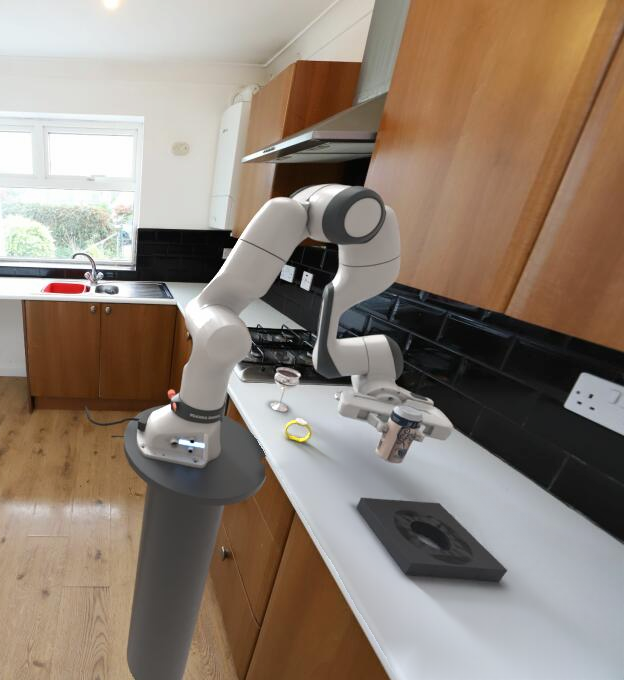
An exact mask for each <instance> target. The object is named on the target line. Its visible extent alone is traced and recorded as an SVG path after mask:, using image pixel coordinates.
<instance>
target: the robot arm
mask: <svg viewBox="0 0 624 680" xmlns="http://www.w3.org/2000/svg"><path fill="white" fill-rule="evenodd" d="M307 238H310V239H311V240H314V241H317V242H323V243H330V244H334V245H337V246H338V269H337V272H336V275H335V276H334V278H333V280H331V281H330V282H329V283H328V284H326V285H325V286H324V288H323V291H322V297H321V302H320V306H319V307H320V308H319V315H318V322H317V323H318V324H317V330H316V337H315V342H314V347H313V350H312V355H311V356H312V357H311V359H312V366H313V368H314V370H315V372H316V373H318V374H319V375H320V376H323V377H325V378H326V379H337V378H342V377H350V379H351V385H352V388H353V391H352V390H343V391H341V390H340V392H339V391H335V392H334V393H333V395H334V398H335V400H337V401H338V402H337V412H338V414H339V415H340V416H341V417H344V418H348V419H352V420H356V421H360V422H364V423H367V424H369V425H370V426H372V427H373V428H375V429H376V432H378V433H381V434H382V433H387V430H388V429H389V427H388V424H387V422H388V420H389V418H390V415H391V413H392V411H393V409H394V408H395V407H397V406H398V405H400V404H403V405H409V406H411V407H414V408H416V409H418V410H419V411H421V413H422V417H423V421H422V423H421V425H420V427H419V429H418V431H417V433H416V435H415V437H414V439H413V442H414V441H415V442H418V443H423V441H424V439H425V438H426V437H427V438H430V439H435V440H439V441H446V440H448V439H449V438H450V436H451V434H452V433H453V430H454V425H453V423H452V422H451V421H450V419H449V418H448V417H447V415H445V413H444V412H443V411H441V409H439V408H438V407H435V406H434V401H433V400H432V399H431V398H429V397H425V396H423V395H420V394H416V393H414V392H412V391H409V390H407V389H405V388H403V387H401V386H399V385H398V384H396V380H398V379H399V378H400V376H401V375H402V374H403V371H404V366H405V365H404V356H403V352H402V349H401V348H400V346H399V345H398V343H397V342H396V341H395V340H394V339H393V338H391V337H390V336H388V335H387V334H372V335H364V336H356V337H346V338H337V334H338V328H339V324H340V323H339V322H340V318H341V316H342V315H343V314H344V313H345V312H346V311H347V310H349V309H351V308H353V307H354V306H356V305H358V304H360V303H362V302H364V301H367V300H369V299H371V298H372V299H373V298H374V297H376V296H378V295H380V294H382V293H383V292H385V291H386V290H387V289H389V288H390V287H391V286H392V285H393V284H394V283H395V282H396V281H397V279H398V277H399V274H400V271H401V263H402V243H401V233H400V227H399V222H398V218H397V214H396V212H395V210H394V209H393V208H392V207H391V206H389V205H386V204H385V203H384V200H383V198H382V197H381V195H380V194H379V193H378V192H376V191H375V190H373V189H371V188H368V187H365V186H363V185H362V186H361V185H354V186H352V185H345V184H339V183H325V184H311V185H307V186H304V187H301V188H300V189H297V190H295V192H293V193H292V194H290V196H289V197H284V196H278V197H277V196H276V197H274V198H270V199H269V200H267V201H266V202H265V203H264V204H263V205H262V207H260V209H259V210H258V211H257V213H256V214H255V215H254V216H253V218H252V219H251V220H250V222H249V223H248V224H247V225H246V227H245V229H244V230H243V232H242V234H241V235H240V237H239V238H238V240H237V241H236V243H235V245H234V247H233V248H232V249H231V251H230V253H229V255H228V256H227V258H226V260H225V261H224V263H223V265H222V266H221V268H220V269H219V271H218V272H217V273H216V275H215V276H214V277H213V279H211V281H210V282H209V283H208V284H207V285H206V287H204V288H203V290H202V291H201V292H200V293H199V294H198V296H195V297H194V298H193V299H192V300H190V301H189V302H188V303H187V305H186V306H185V310H184V324H185V328H186V330H187V331H188V333H189V334H190V337H191V338H192V339H191V340H192V350H191V354H190V357H189V359H188V361H187V363H186V364H185V365H184V367H183V369H182V376H181V384H180V390H179V392H178V393H176V391H175V389H169V390H168V391H167V397H168V399H169V400H170V403H169V404H166V405H167V406H165V407H163V408H160V409H158V410H156V411H153V412H152V413H151V414H150V413H147V412H146V413H145V414H144V415H143V416H142V417H141V419H139V418H134V417H125V418H123V419H120V420H116V421H111V422H98V421H95V420H93V418H91V416H90V412H89V409H88V407H87V406H84V407H83V409H84V411H85V413H86V417H87V419H88V421H89V422H91V423H92V424H94V425H96V426H100V427H107V426H114V425H119V424H122V423H124V422H126V421H131V420H134V421H138V427H137V429H138V431H137V446H138V449H139V450H140V452H141V453H142V455H143V456H145V457H147V458H152V459H157V460H162V461H167V462H172V463H177V464H181V465H186V466H191V467H196V468H204V467H205V466H206V464H207V463H208V462H209V461H211V460H213V459H215V458H216V457H218V456H219V454H220V452H221V445H220V424H221V422H222V419H223V416H224V415H225V411H226V402H225V400H226V395H227V390H228V386H229V382H230V378H231V376H232V373H233V371H234V369H235V367H236V366H237V365H238V364H239V363H241V362H242V361H244V360H245V359H246V357H247V356H248V355H249V354H250V352H251V349H252V344H253V340H252V335H251V333H250V331H249V328H248V326H247V324H246V323H245V322H244V320H243V319H242V318H241V317H240V315H241V313H242V312H243V311H244V310H245V309H246V308H247V307H249V305H250V304H251V303H253V302H254V301H256V300H257V299H258V300H259V299H260V298H262V297H264V296H265V295H266V294H267V293H268V291H269V290H270V289H271V286H272V285H273V284H274V282H275V281H276V279H277V278H278V276H279V274H280V273H281V271H282V270H283V269H284V267H285V266H286V264H287V263H288V261H289V259H290V258H291V256H292V255H293V253H294V251H295V250H296V248H297V247H298V245H300V244H301V243H302V242H303V241H304V240H306V239H307Z"/></svg>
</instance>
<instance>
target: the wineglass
mask: <svg viewBox="0 0 624 680" xmlns="http://www.w3.org/2000/svg"><path fill="white" fill-rule="evenodd" d="M275 370H276V372H275V374H274V377H273V380H274V382H275V383H276V385H277V386H278V387H279V388H281V392H280V393H281V394H280V396H279V397H280V398H279V402H276V401H275V402H271V403H270V405H269V406H270V408H272V409H273V410H275V411H278V412H287V411H288V406H286V405H285V404H283V403H282V401H283V397H284V395H285V391H287V390H291V389H292V390H293V389H294V388H296V387H297V386H298V385H299V383H300V377H301V376H302V375H301V373H300V372H299V371H298V370H295V369H293V368H289V367H283V366H282V367H281V366H280V367H277V368H276V369H275Z"/></svg>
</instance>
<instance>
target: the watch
mask: <svg viewBox="0 0 624 680" xmlns="http://www.w3.org/2000/svg"><path fill="white" fill-rule="evenodd" d="M292 425H297V426H300V427H302V428H307V430H308V434H307V435H306V436H304V437H301V438H299V437H296V436H293V435H290V433H289V432H288V429H289V428H290V426H292ZM284 430H285V435H286V437H287V438H288V439H289V440H292V441H295V442H298V443H304V442H307V441H308V440H309V439H311V436H312V429H311V426H310V425H309V424H308V422H307V420H305V419H303V418H300V417H297V418H296V419H294V420H290V421H289V422H287V423H286V424H285V427H284Z"/></svg>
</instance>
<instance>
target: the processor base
mask: <svg viewBox="0 0 624 680" xmlns="http://www.w3.org/2000/svg"><path fill="white" fill-rule="evenodd" d="M356 505H357V506H356V510H357V511H358V513H359V514H360V515H361V517H362V518H363V519H364V522H366V524H367V525H368V526H369V528H370V529H371V530H372V532H373V533H374V535H375V536H376V537H377V538H378V540H379V541H380V543H381V544H382V546H383V547H384V548H385V550H386V551H387V552H388V553H389V555H390V556H391V558H392V559H393V560H394V562H395V563H396V564H397V566H398V567H399V568H400V570H401V571H402V573H403V574H404V575H405V576H414V577H415V576H416V577H417V576H418V577H427V578H428V577H429V578H430V577H431V578H444V579H456V580H470V581H481V582H482V581H483V582H493V583H494V582H495V583H499V582H500V581H501V580H502V579H503V578H504V576H505V575H506V573H507V572H508V569H507V568H506V567H505V566H504V565H503V563H500V561H499V560H498V559H497V558H496V557H495V556H494V555H493V554H492V553H491V552H490V551H488V549H487V548H485V546H483V545H482V543H480V541H478V539H476V538H475V536H474V535H472V533H470V531H468V530H467V529H466V528H465V527H464V526H463V525H462V524H461V523H460V522H459V521H458V520H457V519H456V518H455V517H454V516H453V515H452V514H451V513H450V512H449V511H448V510H447V509H446V508H445V507H444V506H443V505H442V503H441V504H440V503H439V502H430V501H428V502H427V501H417V500H416V501H415V500H401V499H387V498H375V497H373V498H372V497H360V498H359V501H358V503H357V504H356ZM415 533H417V534H420V535H423V536H425V537H427V538H429V539H430V540H431V541H433V542H434V543H436V544H437V545H438V546H439V547H440V548H441V549H440V548H436V547H434V546H432V545H430V544H428V543H426V542H424V541H423V540H422V539H421V538H419V537H418V536H417V535H416V534H415Z"/></svg>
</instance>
